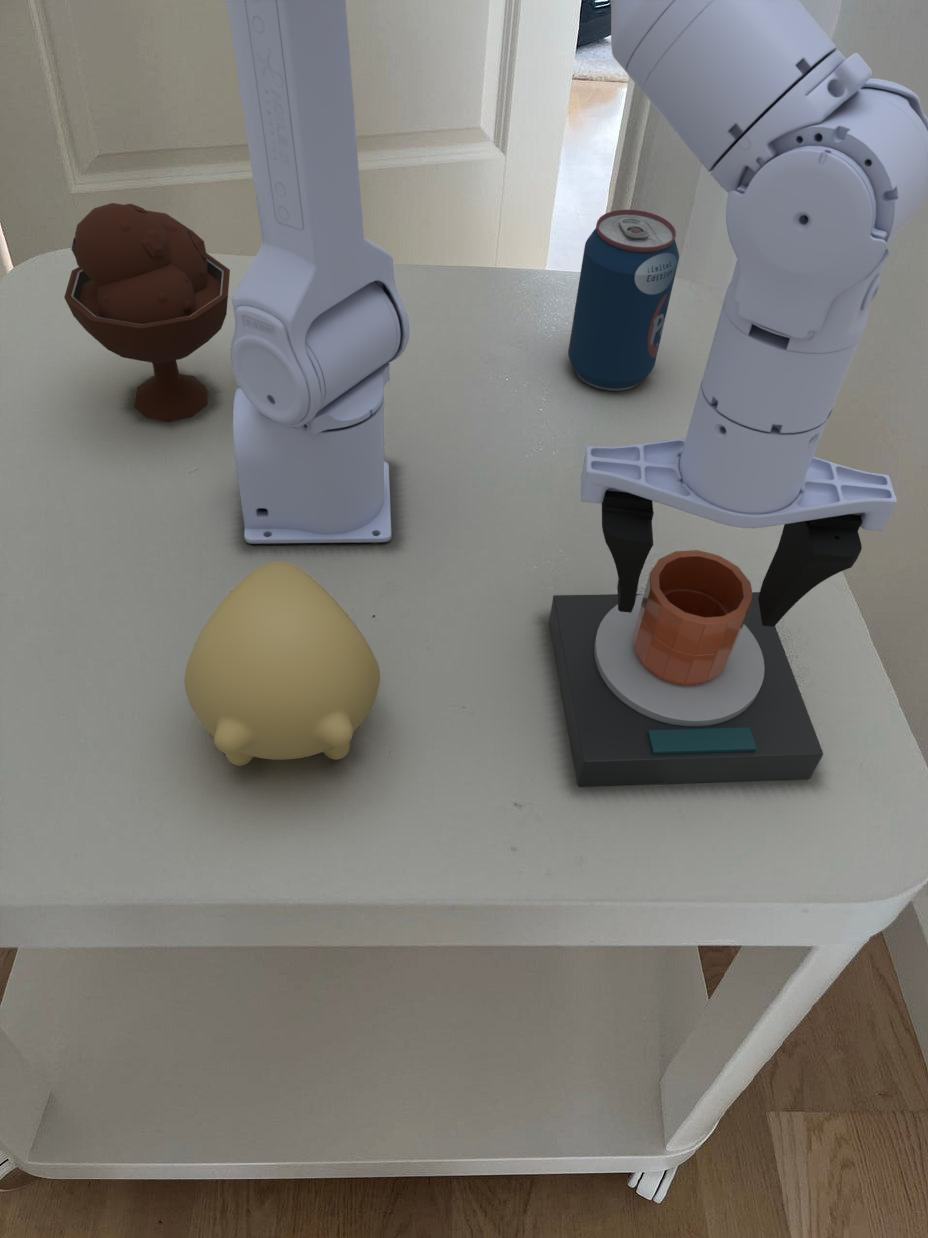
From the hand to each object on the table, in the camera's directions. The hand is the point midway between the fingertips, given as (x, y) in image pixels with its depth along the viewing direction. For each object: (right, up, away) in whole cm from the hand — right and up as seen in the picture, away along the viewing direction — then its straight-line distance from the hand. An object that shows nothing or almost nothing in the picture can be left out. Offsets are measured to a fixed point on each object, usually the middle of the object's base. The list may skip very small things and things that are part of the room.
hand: (695, 605), depth 54 cm
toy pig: (-22, -6, +2) cm, 23 cm away
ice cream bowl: (-34, +16, +21) cm, 43 cm away
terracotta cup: (0, -3, +3) cm, 4 cm away
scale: (0, -5, +5) cm, 7 cm away
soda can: (-1, +19, +27) cm, 33 cm away
